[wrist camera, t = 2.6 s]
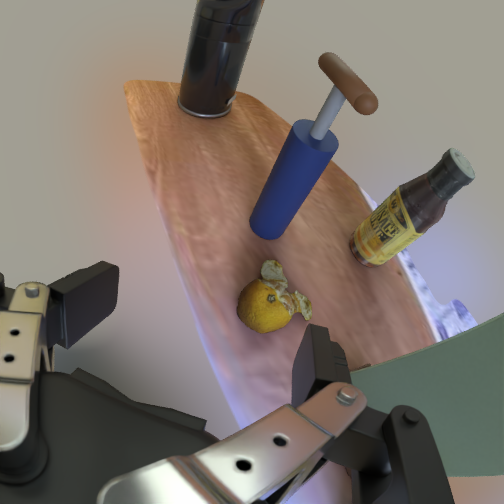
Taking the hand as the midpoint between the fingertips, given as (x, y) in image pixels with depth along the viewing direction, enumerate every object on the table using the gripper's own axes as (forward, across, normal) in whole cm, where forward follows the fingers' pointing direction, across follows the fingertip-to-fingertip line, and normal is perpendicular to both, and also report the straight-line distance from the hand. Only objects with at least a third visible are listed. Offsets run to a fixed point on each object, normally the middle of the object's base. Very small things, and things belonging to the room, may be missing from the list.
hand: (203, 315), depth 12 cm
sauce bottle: (+31, -15, +1) cm, 34 cm away
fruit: (+21, -4, +8) cm, 23 cm away
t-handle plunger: (+28, 0, 0) cm, 28 cm away
